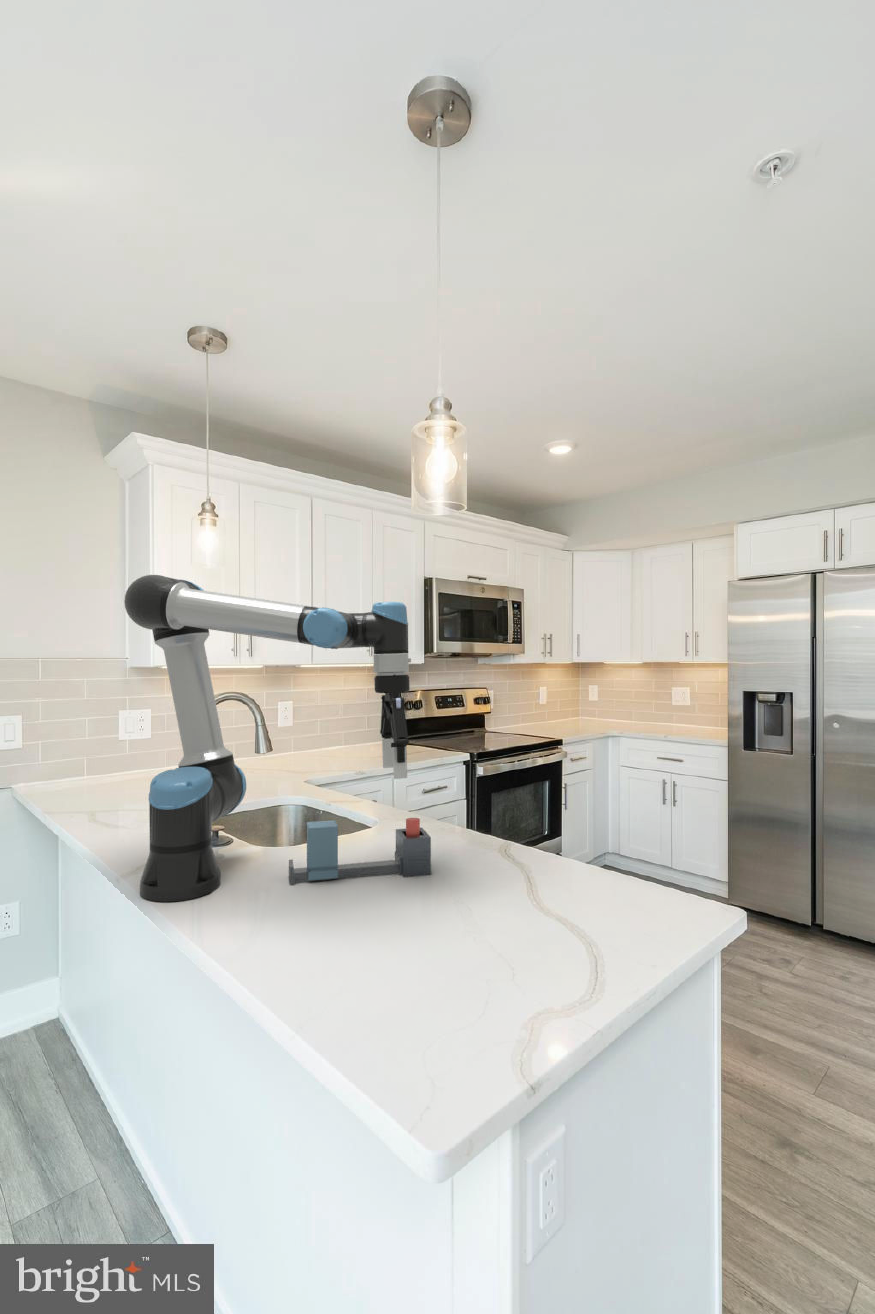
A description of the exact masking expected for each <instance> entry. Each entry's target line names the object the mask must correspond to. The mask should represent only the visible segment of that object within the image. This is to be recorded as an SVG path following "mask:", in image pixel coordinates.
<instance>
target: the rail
mask: <svg viewBox="0 0 875 1314" xmlns="http://www.w3.org/2000/svg"><path fill="white" fill-rule="evenodd" d="M397 874H398V875H399V876H402V858H401V856H400V855H399V853H398V852H397V851H396V850H395V851H394V859H391V860H390V859H389V860H379V861H378V860H377V861H366V862H355V863H354V862H353V863H343V864H338V878H332V879H321V880H310V881H308V868H307V866H306V867H294V860H293V859H288V880H289V882H288V883H289V886H293V885H295V884H296V883H297V884H298V883H307V882H319V881H320V882H321V881H330V880H341V879H351V878H353V879H354V878H363V877H364V878H365V877H374V876H387V875H397Z"/></svg>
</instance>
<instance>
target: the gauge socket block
mask: <svg viewBox="0 0 875 1314" xmlns="http://www.w3.org/2000/svg"><path fill="white" fill-rule="evenodd" d="M431 839H432V837H431V836H430V835H429V833H427V831H426V830H425V829H424V828H423V827H421V826H420V836H406V828H396V829H395V851H397V852H398V853H399V855H400V856H401V858H402V875H401V876H402V877H403V878H409V877H420V876H430V875H431V874H432V872H431V870H432V869H431V868H432V861H431V860H432V852H431V851H432V848H431V847H432V842H431V841H432V840H431Z"/></svg>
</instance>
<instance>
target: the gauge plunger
mask: <svg viewBox="0 0 875 1314" xmlns="http://www.w3.org/2000/svg"><path fill="white" fill-rule="evenodd" d="M420 822H421V821H420V818H417V817H408V818H406V819H405V829H406V836H420V828H421V823H420Z"/></svg>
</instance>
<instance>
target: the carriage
mask: <svg viewBox="0 0 875 1314" xmlns="http://www.w3.org/2000/svg"><path fill="white" fill-rule="evenodd" d="M338 827H339V826H338V824H337V822H336V820H335V819H334V820H320V821H319V820H317V821H307V822H306V867H307V868H308V881H310V880H321V879H332V878H338V865H339V862H338V861H339V856H338V855H339V854H338V853H339V849H338V848H339V843H338V841H339V840H338V839H339V835H338V834H339V830H338V829H339V828H338ZM332 880H333V879H332ZM321 881H322V880H321ZM310 882H311V881H310Z"/></svg>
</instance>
